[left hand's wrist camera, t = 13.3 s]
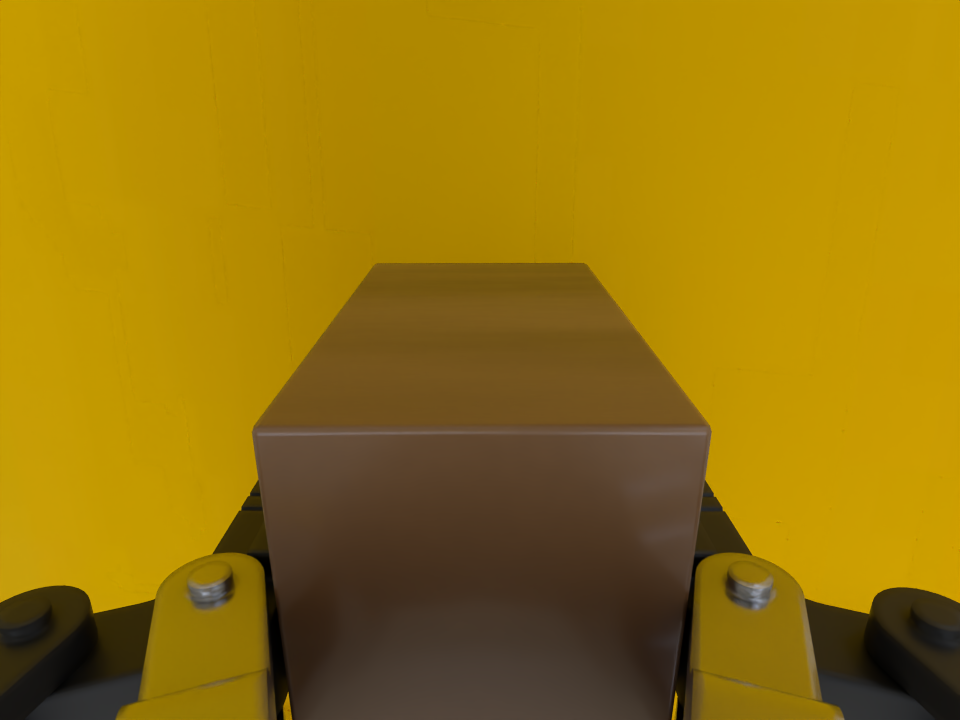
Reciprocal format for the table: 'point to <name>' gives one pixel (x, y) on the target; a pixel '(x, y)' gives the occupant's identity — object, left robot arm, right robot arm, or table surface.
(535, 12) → the table surface
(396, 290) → the bar
